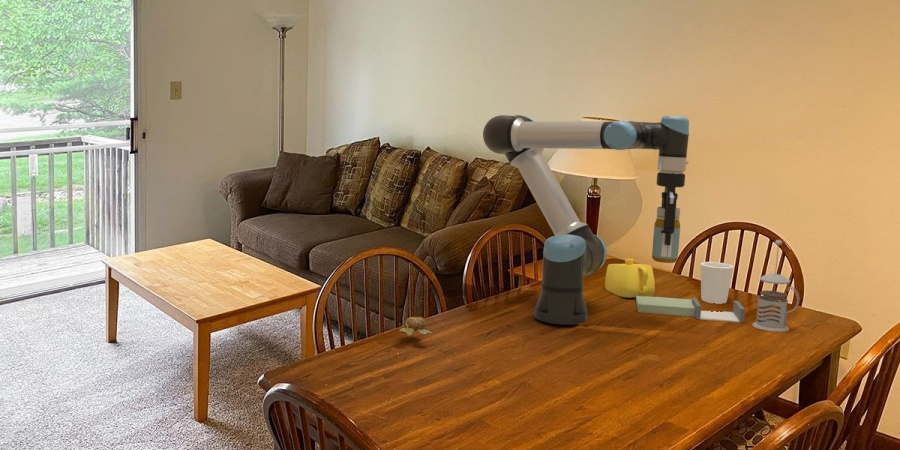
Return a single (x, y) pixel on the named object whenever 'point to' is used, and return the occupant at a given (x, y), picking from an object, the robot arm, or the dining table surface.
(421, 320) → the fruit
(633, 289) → the teapot
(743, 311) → the green bar on base
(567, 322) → the robot arm
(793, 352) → the dining table surface
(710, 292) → the cup
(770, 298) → the french press
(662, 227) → the bottle
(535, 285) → the dining table surface
